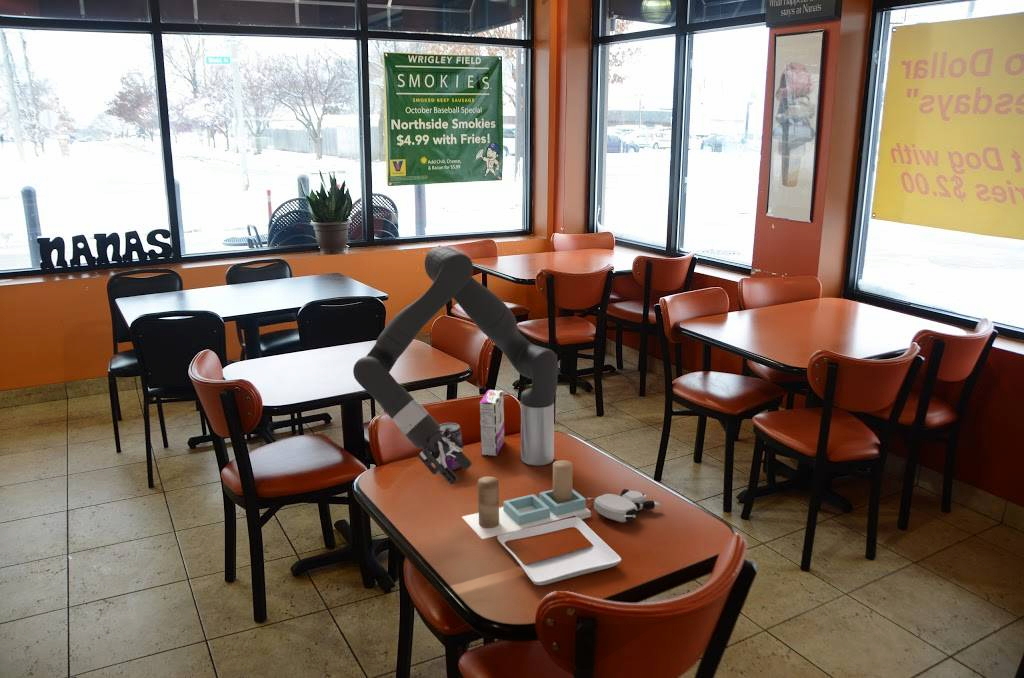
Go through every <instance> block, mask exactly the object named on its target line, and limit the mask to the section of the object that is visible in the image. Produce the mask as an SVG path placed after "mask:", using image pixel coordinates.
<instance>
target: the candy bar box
mask: <svg viewBox="0 0 1024 678" xmlns="http://www.w3.org/2000/svg"><path fill="white" fill-rule="evenodd" d="M504 407H505V406H504V390H500V389H488V390H487V391H486V392H485V394H484V396H483V397H482V398H481V400H480V401H479V424H480V451H481V452H480V453H481V456H486V455H488V456H490V457H497V456H498V455H499V452H500V451H501V449H502V447H503V445H504V444H505V441H506V440H505V439H506V438H505V409H504Z"/></svg>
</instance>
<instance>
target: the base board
mask: <svg viewBox="0 0 1024 678" xmlns="http://www.w3.org/2000/svg"><path fill="white" fill-rule="evenodd" d="M573 469H574V468H573V463H572V462H571V461H570V460H566V459H565V460H564V459H560V460H556V461H555V460H554V462H553V463H552V489H549V490H544V491H541V492H539V494H538V495H539V497H538V496H537V495H536V494H534V493H532V494H528V495H524V496H519V497H516V498H512V499H508V500H504V501H503V502H502V504H503V505H502V506H501V507H500V506H499V525H498V526H497V527H494V528H483V527H481V526H480V525H479V512H477V513H471V514H467V515H463V516H461V518H462V519H463V520H464V521H465V522H466V523H467V525H468V526H470V528H471V530H473V531H474V532H475V533H476V534H477V536H478V537H479V538H480V539H481V540H484V539H485V540H486V539H489V538H492V537H497V536H499V535H502V534H506V533H510V532H514V531H518V530H523V529H527V528H531V527H535V526H539V525H543V524H548V523H552V522H556V521H561V520H565V519H569V518H572V517H574V516H575V517H579V518H580V519H581V520H584V519H588V518H591V516H592V512H591V510H590V509H588V508H587V499H586V498H585V497H584V496H583V495H581V494H580V493H579V492H577V491H576V490H575V489H574V488H573Z"/></svg>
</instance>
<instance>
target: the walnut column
mask: <svg viewBox="0 0 1024 678" xmlns="http://www.w3.org/2000/svg"><path fill="white" fill-rule="evenodd" d="M499 487H500V485H499V479H498V478H497V477H494V476H488V475H487V476H482V477H479V479H478V480H477V490H478V491H477V492H478V493H477V499H478V513H479V525H480V526H481V527H483V528H494V527H497V526H498V525H499V508H500V497H499V495H500V494H499V490H500V489H499Z"/></svg>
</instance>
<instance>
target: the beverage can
mask: <svg viewBox="0 0 1024 678" xmlns="http://www.w3.org/2000/svg"><path fill="white" fill-rule="evenodd" d="M439 425H440V429H439V432H440V433H443V432H444V431H445V430H446V429H448V430H450V432H451V433H452V434H453V435H454V436H455V437H456V438H457V439H458V440H459V441H460V442H461V443H462V444H463V437H462V435H463V434H462V433H463V432H462V430H461V427H460V424H458V423H455V422H444V423H440V424H439ZM453 443H455V442H453ZM455 445H456V446H458V445H457V444H456V443H455ZM449 447H450V446H449ZM453 452H454V451H453ZM445 457H446V458H445V462H446V465H447V467H449V468H450V469H451V470H452V471H455V470H457V469H459V468H462V465H461V464H460V463H459V462H458V461H457V460H456V458H457V457H453V456H451V455H445ZM440 465H441V463H440Z"/></svg>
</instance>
